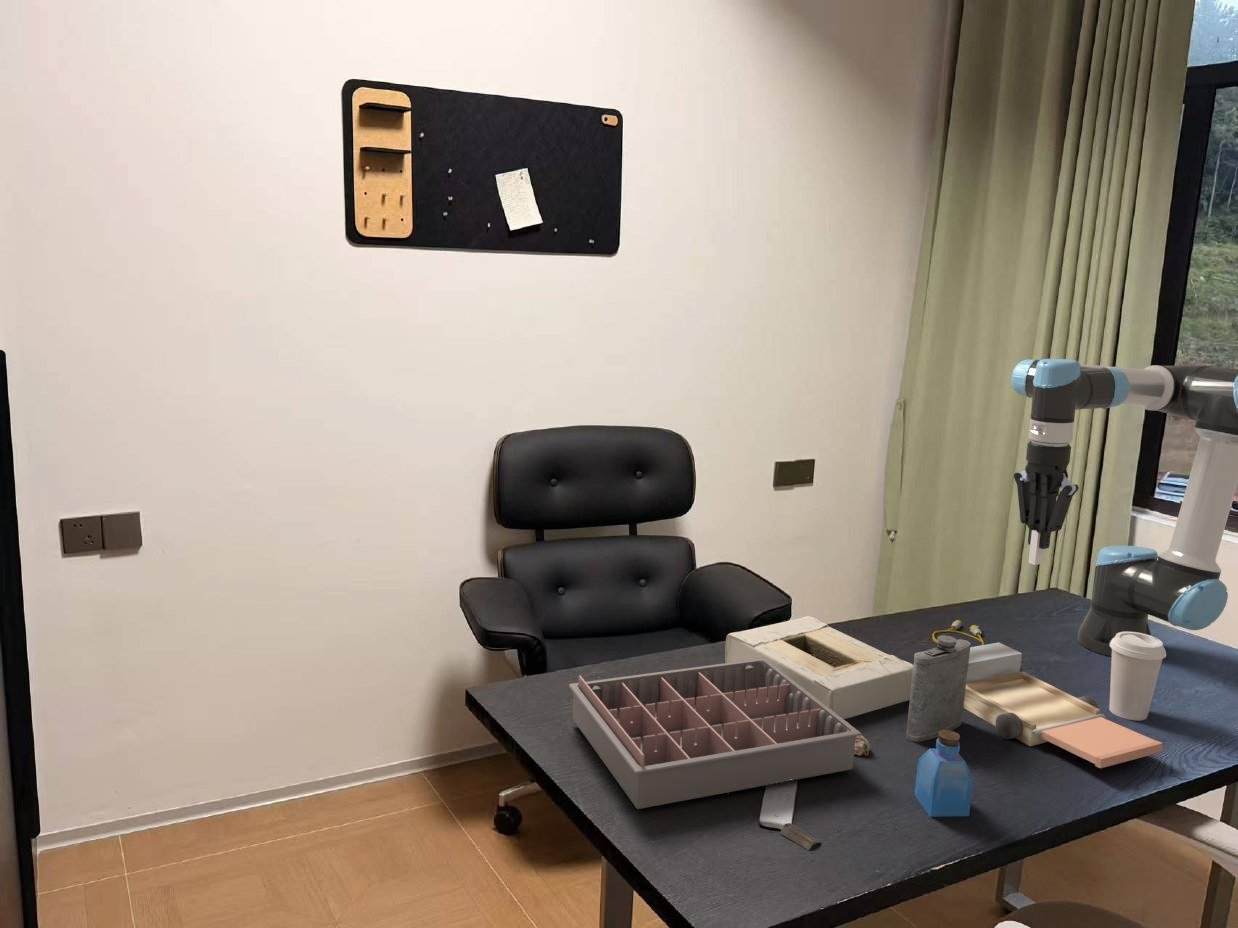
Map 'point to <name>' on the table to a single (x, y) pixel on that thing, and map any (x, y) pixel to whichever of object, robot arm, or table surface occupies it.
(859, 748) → the mineral rock
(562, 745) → the table surface
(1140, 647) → the coffee cup
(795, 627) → the box
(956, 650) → the flask
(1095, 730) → the tailgate
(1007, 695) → the truck bed
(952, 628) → the extension cord
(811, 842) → the block
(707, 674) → the organizer tray
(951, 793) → the perfume bottle
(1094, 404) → the robot arm
